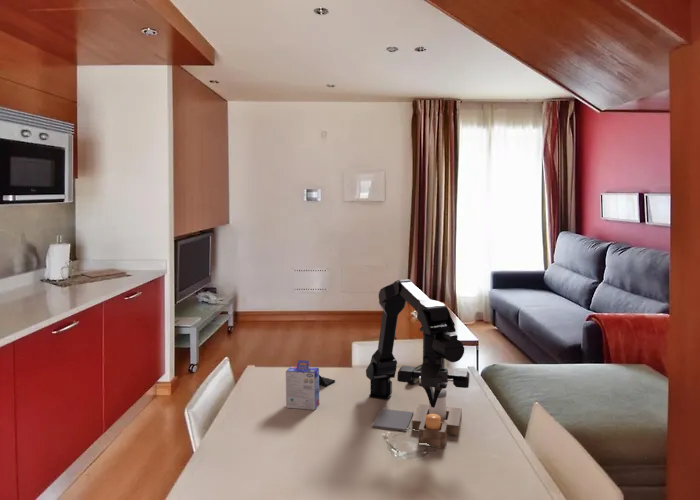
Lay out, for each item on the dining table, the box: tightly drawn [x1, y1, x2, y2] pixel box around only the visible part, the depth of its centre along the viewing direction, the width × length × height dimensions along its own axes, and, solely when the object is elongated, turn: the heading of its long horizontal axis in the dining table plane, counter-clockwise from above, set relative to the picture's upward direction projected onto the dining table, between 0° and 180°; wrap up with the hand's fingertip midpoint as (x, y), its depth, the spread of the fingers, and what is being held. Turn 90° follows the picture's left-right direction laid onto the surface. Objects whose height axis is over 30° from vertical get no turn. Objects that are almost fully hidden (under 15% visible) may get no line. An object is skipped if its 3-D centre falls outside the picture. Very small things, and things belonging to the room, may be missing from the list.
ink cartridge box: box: [285, 359, 320, 411], centre depth 161 cm, size 10×6×14 cm, turn 79°
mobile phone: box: [407, 363, 423, 386], centre depth 185 cm, size 5×3×15 cm
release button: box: [426, 414, 441, 430], centre depth 137 cm, size 4×4×4 cm
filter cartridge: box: [428, 387, 448, 420], centre depth 147 cm, size 5×5×10 cm
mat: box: [371, 408, 414, 431], centre depth 150 cm, size 10×12×1 cm
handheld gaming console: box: [319, 374, 336, 388], centre depth 181 cm, size 12×7×10 cm
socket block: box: [411, 403, 463, 449], centre depth 143 cm, size 13×20×4 cm, turn 164°
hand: (433, 406), depth 136 cm, fingers closed
